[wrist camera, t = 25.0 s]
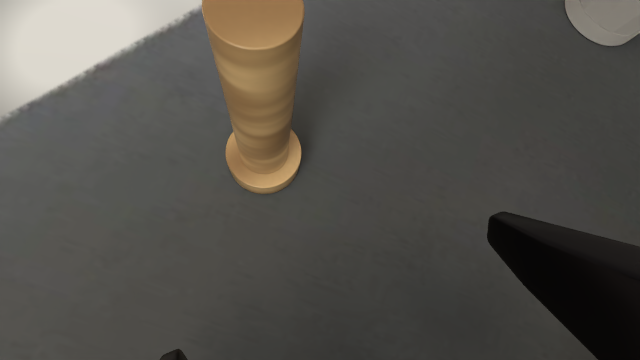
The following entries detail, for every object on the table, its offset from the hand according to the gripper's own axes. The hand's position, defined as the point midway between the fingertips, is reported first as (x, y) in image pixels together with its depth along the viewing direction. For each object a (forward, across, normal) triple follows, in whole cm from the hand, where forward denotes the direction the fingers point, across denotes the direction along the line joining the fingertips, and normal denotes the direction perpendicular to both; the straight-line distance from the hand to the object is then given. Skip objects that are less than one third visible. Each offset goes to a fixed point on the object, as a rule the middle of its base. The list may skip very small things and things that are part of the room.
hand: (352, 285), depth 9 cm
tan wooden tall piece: (+14, 0, +2) cm, 14 cm away
